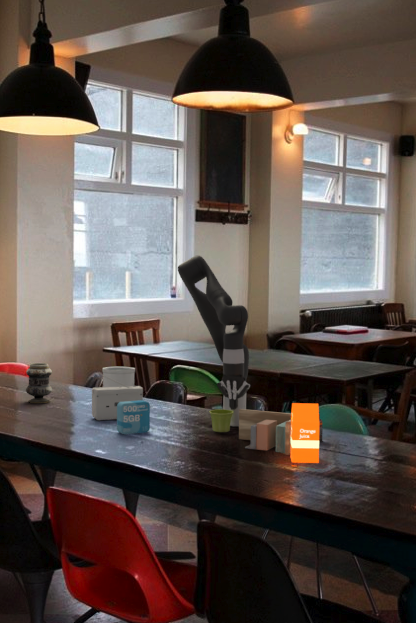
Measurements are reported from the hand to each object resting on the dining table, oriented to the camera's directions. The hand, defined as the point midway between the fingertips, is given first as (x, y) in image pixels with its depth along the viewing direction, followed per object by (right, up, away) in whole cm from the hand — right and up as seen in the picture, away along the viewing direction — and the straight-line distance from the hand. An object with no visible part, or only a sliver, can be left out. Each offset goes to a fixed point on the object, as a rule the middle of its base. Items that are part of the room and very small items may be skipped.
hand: (233, 409), depth 302 cm
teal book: (+18, -13, -10) cm, 24 cm away
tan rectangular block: (+11, -13, -6) cm, 18 cm away
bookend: (+9, -13, -5) cm, 16 cm away
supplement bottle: (+29, -14, +5) cm, 33 cm away
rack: (+10, -14, -4) cm, 18 cm away
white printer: (-47, -10, +53) cm, 72 cm away
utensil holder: (-50, -9, +83) cm, 98 cm away
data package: (-38, -12, +24) cm, 47 cm away
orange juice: (+22, -15, -25) cm, 37 cm away
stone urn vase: (-89, -8, +93) cm, 129 cm away
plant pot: (-4, -12, +23) cm, 26 cm away
